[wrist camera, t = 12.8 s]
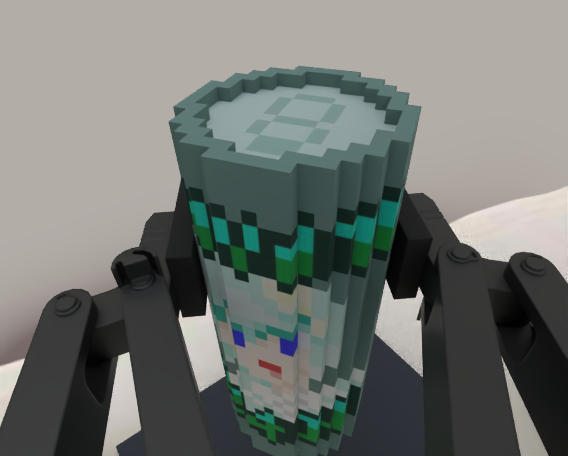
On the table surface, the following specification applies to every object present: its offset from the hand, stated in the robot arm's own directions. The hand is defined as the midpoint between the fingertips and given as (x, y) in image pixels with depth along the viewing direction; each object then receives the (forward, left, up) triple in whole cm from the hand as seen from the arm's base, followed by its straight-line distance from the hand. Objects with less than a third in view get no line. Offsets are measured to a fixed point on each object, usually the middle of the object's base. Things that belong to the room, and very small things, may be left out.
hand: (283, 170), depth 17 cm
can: (+3, +4, -10) cm, 11 cm away
